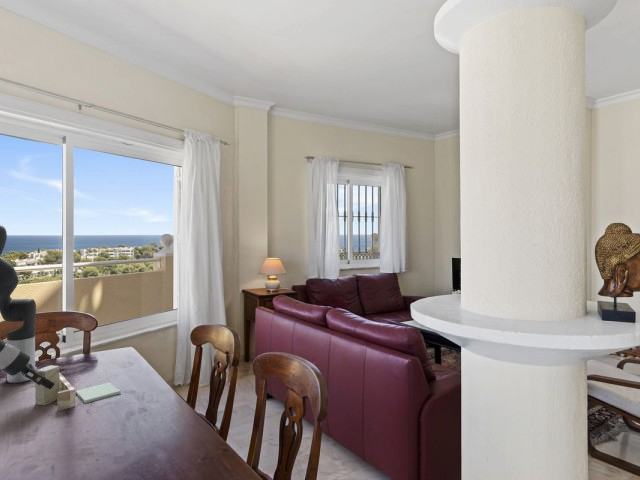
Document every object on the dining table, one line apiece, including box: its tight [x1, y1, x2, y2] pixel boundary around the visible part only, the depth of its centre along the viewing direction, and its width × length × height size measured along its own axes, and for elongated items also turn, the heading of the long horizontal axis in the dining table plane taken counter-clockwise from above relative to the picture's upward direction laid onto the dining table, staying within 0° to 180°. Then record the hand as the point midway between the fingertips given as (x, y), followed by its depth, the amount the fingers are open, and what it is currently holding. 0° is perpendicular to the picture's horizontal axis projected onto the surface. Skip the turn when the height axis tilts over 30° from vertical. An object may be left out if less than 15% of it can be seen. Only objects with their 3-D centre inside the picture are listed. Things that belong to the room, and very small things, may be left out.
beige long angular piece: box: [56, 372, 76, 412], centre depth 143 cm, size 22×5×6 cm, turn 45°
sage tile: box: [75, 381, 121, 404], centre depth 148 cm, size 12×12×1 cm
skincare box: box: [34, 364, 60, 406], centre depth 141 cm, size 6×4×12 cm
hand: (49, 383), depth 141 cm, fingers open, 8 cm apart
